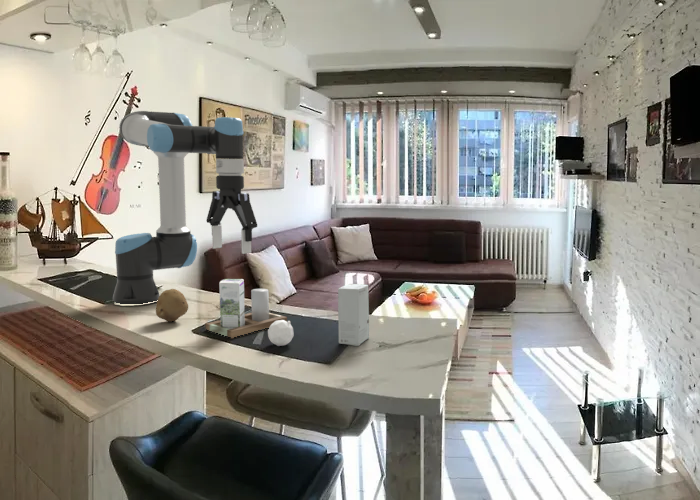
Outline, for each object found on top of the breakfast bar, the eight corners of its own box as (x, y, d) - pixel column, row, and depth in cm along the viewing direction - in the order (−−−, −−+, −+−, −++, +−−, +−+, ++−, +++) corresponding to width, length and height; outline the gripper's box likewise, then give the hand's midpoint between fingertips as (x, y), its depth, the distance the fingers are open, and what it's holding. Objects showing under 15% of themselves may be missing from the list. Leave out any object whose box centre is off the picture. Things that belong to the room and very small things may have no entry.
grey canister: (248, 323, 162) (247, 290, 161) (261, 320, 166) (260, 287, 165) (259, 326, 159) (258, 292, 158) (272, 323, 163) (272, 290, 162)
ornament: (277, 339, 147) (294, 317, 146) (286, 354, 142) (303, 332, 141) (259, 331, 143) (276, 309, 142) (267, 347, 138) (285, 324, 137)
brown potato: (195, 319, 167) (193, 287, 166) (177, 327, 159) (176, 293, 157) (169, 317, 170) (168, 285, 169) (151, 324, 162) (149, 291, 160)
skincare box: (358, 346, 141) (359, 289, 139) (337, 344, 143) (336, 287, 141) (369, 337, 149) (370, 283, 147) (348, 335, 151) (349, 282, 149)
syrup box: (245, 327, 158) (244, 278, 156) (240, 333, 152) (239, 282, 150) (226, 327, 158) (224, 278, 156) (220, 333, 152) (218, 282, 150)
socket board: (205, 330, 155) (205, 323, 155) (260, 316, 170) (260, 310, 170) (231, 338, 148) (231, 331, 147) (286, 323, 163) (286, 316, 162)
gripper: (192, 174, 158) (195, 247, 161) (247, 175, 141) (248, 257, 145) (215, 173, 163) (216, 244, 167) (269, 175, 147) (270, 253, 150)
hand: (231, 250), depth 156 cm, fingers open, 13 cm apart
